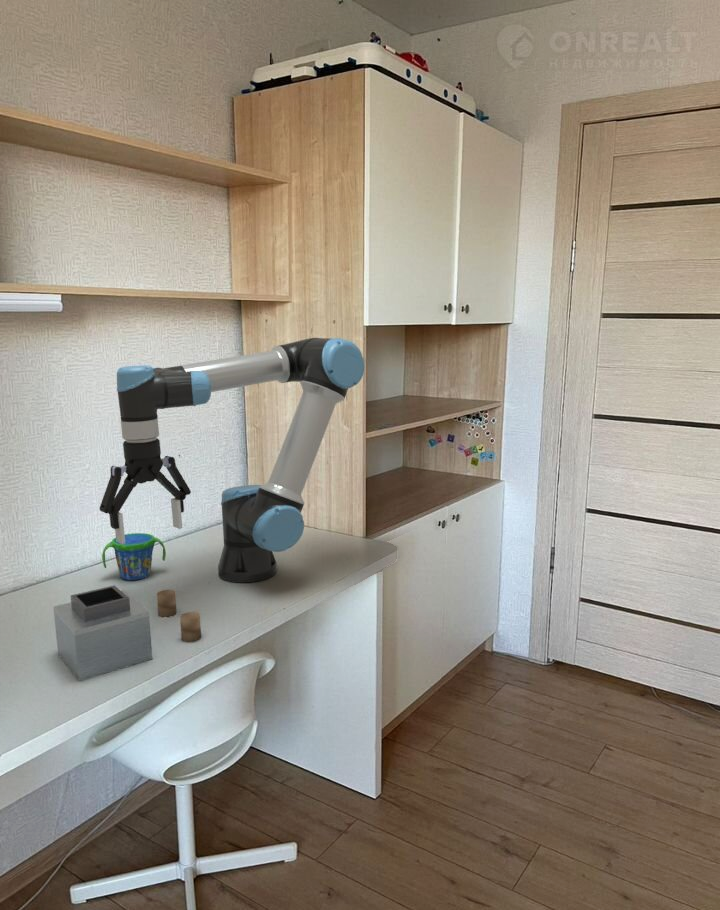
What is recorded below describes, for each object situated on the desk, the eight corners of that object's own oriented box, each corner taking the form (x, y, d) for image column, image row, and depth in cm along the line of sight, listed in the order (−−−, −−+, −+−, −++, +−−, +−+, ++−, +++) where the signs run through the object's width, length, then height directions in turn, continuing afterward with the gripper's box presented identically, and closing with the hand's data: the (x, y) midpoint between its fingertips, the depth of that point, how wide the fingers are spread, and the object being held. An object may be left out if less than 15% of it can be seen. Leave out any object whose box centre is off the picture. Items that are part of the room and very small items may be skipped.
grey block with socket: (127, 634, 151) (122, 578, 149) (152, 658, 140) (148, 598, 138) (58, 653, 143) (52, 594, 140) (79, 681, 132) (73, 617, 130)
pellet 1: (172, 608, 164) (171, 588, 163) (179, 614, 161) (178, 593, 160) (155, 613, 162) (154, 592, 161) (162, 619, 159) (161, 597, 158)
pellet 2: (196, 632, 152) (194, 610, 151) (204, 638, 149) (203, 616, 148) (178, 637, 150) (177, 615, 149) (186, 644, 147) (185, 621, 146)
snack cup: (166, 566, 192) (164, 530, 190) (167, 580, 182) (164, 541, 180) (105, 572, 188) (102, 535, 186) (102, 586, 178) (99, 547, 176)
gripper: (183, 429, 163) (191, 518, 167) (75, 446, 146) (87, 545, 150) (201, 432, 158) (208, 524, 162) (91, 450, 141) (102, 553, 145)
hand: (150, 534), depth 156 cm, fingers open, 13 cm apart
